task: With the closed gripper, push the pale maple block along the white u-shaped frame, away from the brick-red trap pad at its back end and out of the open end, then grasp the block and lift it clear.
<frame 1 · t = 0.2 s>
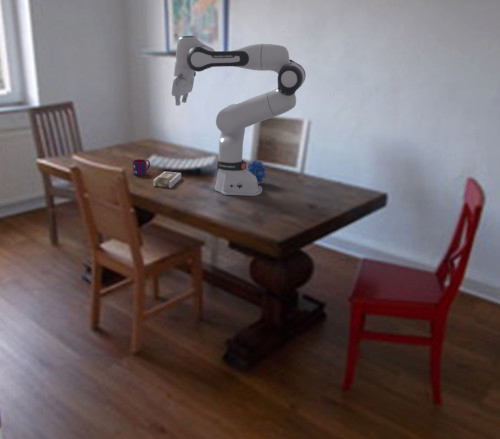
hand: (180, 103, 253), 38 cm above the table, tool pointing down, fingers open, 8 cm apart
mug: (142, 173, 281), on the table
grapes: (256, 184, 271), on the table
white u-shaped frame: (167, 182, 268), on the table
block: (165, 184, 265), on the table
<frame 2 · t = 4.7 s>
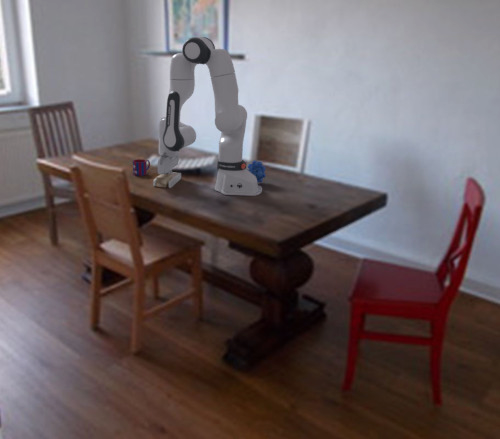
hand: (168, 178, 269), 2 cm above the table, tool pointing down, fingers closed
block: (164, 184, 264), on the table, touching gripper
everything else where it was.
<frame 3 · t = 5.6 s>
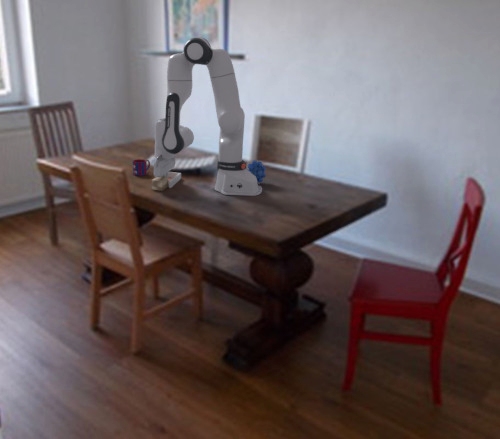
hand: (164, 181, 264), 2 cm above the table, tool pointing down, fingers closed
block: (160, 188, 259), on the table, touching gripper
everything else where it was.
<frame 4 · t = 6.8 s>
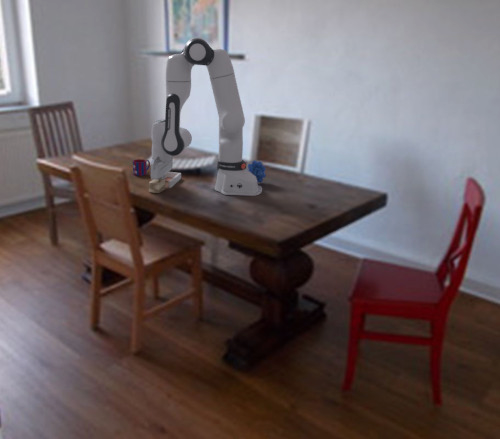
hand: (161, 183, 260), 2 cm above the table, tool pointing down, fingers closed
block: (157, 190, 255), on the table, touching gripper
everything else where it was.
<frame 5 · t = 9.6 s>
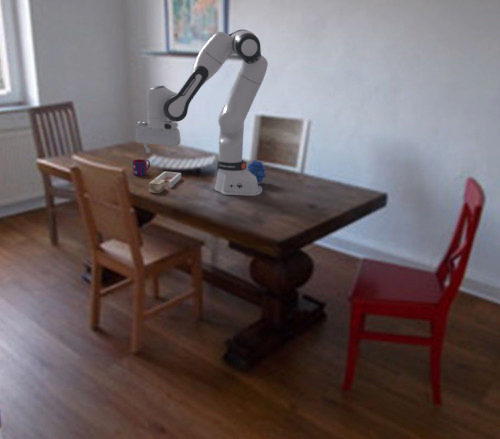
hand: (158, 153, 250), 17 cm above the table, tool pointing down, fingers open, 8 cm apart
block: (157, 190, 255), on the table
everything else where it was.
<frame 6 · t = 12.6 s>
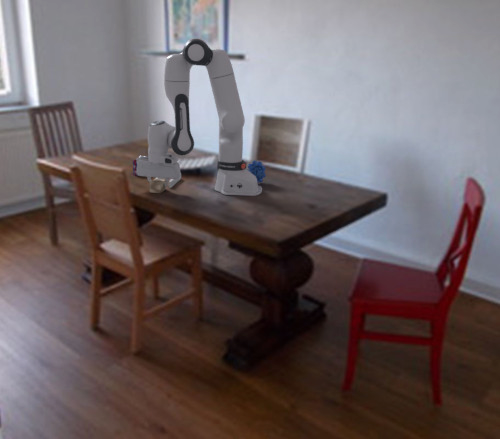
hand: (158, 186, 256), 2 cm above the table, tool pointing down, fingers closed on block, 5 cm apart
block: (157, 190, 255), on the table, touching gripper
everything else where it was.
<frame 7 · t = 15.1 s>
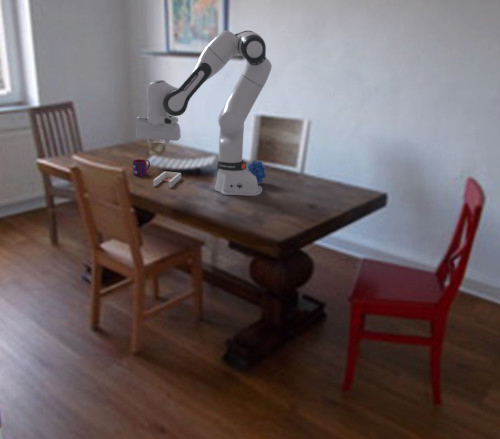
hand: (158, 148, 250), 19 cm above the table, tool pointing down, fingers closed on block, 5 cm apart
block: (157, 152, 249), point 18 cm above the table, touching gripper
everything else where it was.
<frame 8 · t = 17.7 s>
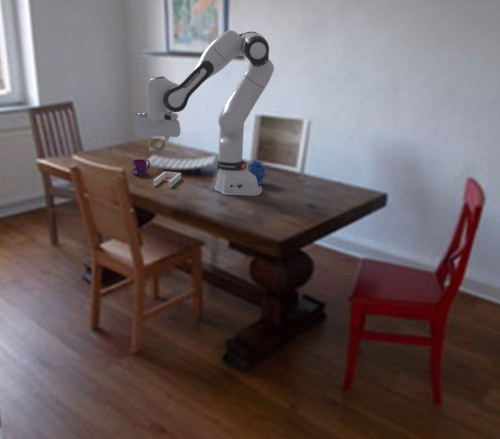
hand: (158, 145, 249), 21 cm above the table, tool pointing down, fingers closed on block, 5 cm apart
block: (157, 149, 249), point 19 cm above the table, touching gripper
everything else where it was.
at the end: the gripper is holding block; block point 19.4 cm above the table; block touching gripper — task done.
